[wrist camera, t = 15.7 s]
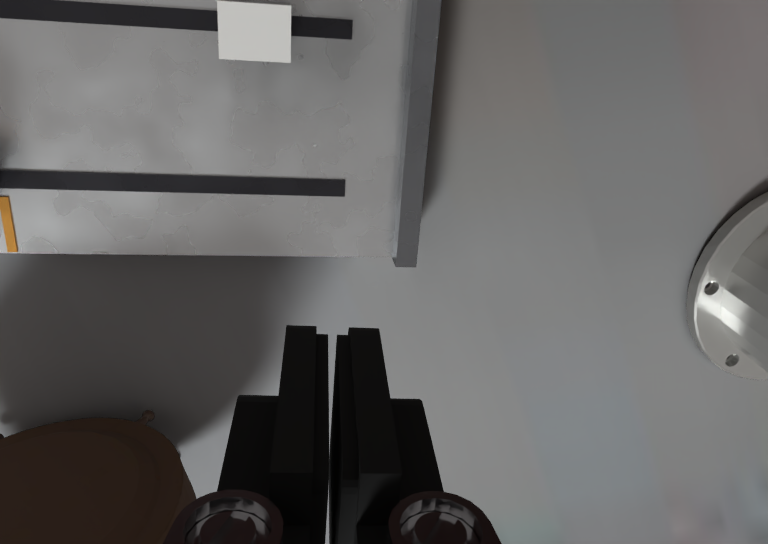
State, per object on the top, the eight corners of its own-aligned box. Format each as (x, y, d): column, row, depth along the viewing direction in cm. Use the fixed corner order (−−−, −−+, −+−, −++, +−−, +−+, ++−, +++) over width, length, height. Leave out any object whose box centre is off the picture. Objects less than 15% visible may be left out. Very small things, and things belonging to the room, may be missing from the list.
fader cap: (290, 1, 27) (291, 5, 23) (289, 50, 28) (290, 63, 23) (227, -3, 26) (216, 0, 22) (229, 46, 27) (218, 58, 23)
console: (430, -53, 29) (446, -57, 26) (405, 242, 34) (416, 267, 32) (-237, -109, 25) (-306, -121, 22) (-144, 235, 31) (-189, 262, 28)
